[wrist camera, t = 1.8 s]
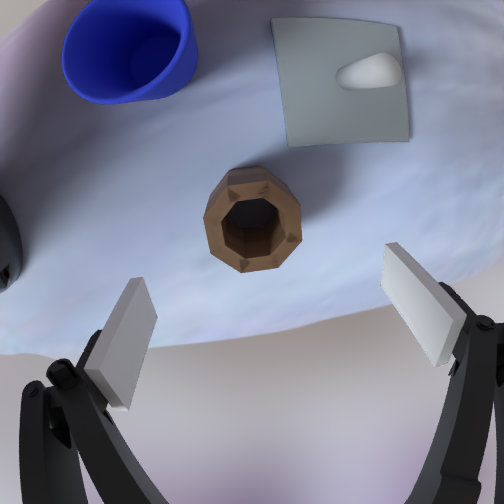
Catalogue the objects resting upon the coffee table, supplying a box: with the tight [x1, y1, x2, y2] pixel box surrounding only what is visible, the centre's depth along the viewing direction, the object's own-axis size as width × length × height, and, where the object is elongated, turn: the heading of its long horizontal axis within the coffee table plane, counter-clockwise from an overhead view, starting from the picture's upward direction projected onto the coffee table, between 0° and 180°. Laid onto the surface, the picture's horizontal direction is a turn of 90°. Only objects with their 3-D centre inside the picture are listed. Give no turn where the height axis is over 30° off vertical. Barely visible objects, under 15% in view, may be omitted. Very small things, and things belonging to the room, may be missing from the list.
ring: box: [203, 166, 302, 273], centre depth 24 cm, size 7×7×6 cm
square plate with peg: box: [270, 17, 409, 147], centre depth 18 cm, size 12×12×8 cm
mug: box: [62, 0, 198, 104], centre depth 15 cm, size 8×12×10 cm
